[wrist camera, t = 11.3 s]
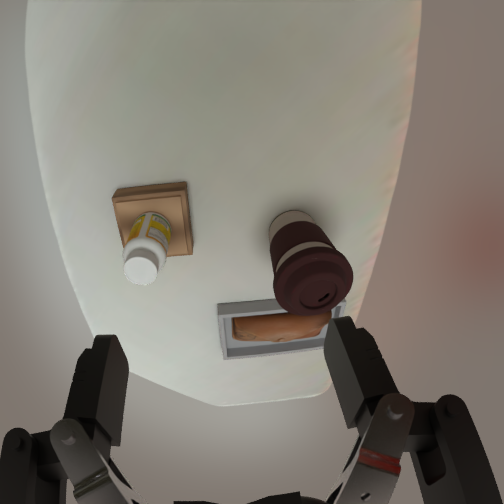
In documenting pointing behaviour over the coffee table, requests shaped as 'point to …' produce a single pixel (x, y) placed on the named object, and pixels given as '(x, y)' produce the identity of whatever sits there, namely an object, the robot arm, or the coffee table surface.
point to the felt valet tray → (264, 348)
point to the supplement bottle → (146, 248)
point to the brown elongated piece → (278, 326)
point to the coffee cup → (306, 266)
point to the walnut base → (158, 201)
